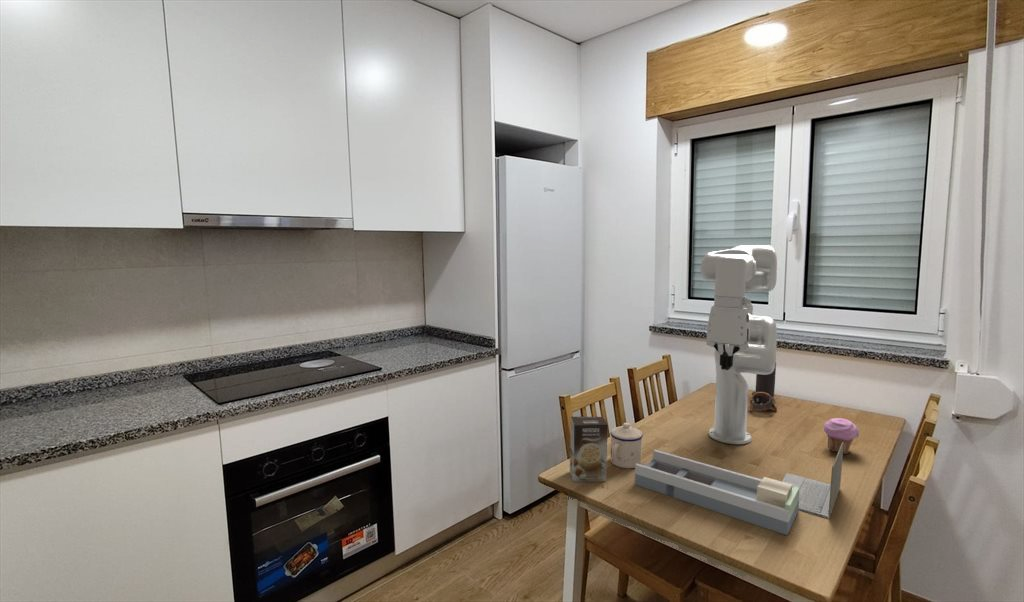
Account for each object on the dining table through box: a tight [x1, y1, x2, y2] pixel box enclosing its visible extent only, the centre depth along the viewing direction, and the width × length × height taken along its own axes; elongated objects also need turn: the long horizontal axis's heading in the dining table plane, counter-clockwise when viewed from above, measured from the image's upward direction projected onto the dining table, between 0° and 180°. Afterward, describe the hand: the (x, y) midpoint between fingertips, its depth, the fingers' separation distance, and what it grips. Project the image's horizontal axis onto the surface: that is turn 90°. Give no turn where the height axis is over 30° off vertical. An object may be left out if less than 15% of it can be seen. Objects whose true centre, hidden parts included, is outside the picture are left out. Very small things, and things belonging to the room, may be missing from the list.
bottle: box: [755, 362, 777, 399], centre depth 199 cm, size 7×7×20 cm
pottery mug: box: [749, 390, 778, 413], centre depth 186 cm, size 12×10×8 cm
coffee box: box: [569, 416, 609, 483], centre depth 135 cm, size 9×6×16 cm
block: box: [757, 476, 792, 508], centre depth 115 cm, size 6×6×5 cm
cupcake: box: [823, 417, 860, 455], centre depth 150 cm, size 9×9×10 cm
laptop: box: [781, 442, 844, 520], centre depth 125 cm, size 18×12×13 cm
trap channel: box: [634, 449, 800, 536], centre depth 124 cm, size 12×36×6 cm, turn 50°
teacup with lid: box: [610, 422, 644, 469], centre depth 143 cm, size 12×9×12 cm
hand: (726, 368), depth 136 cm, fingers closed
